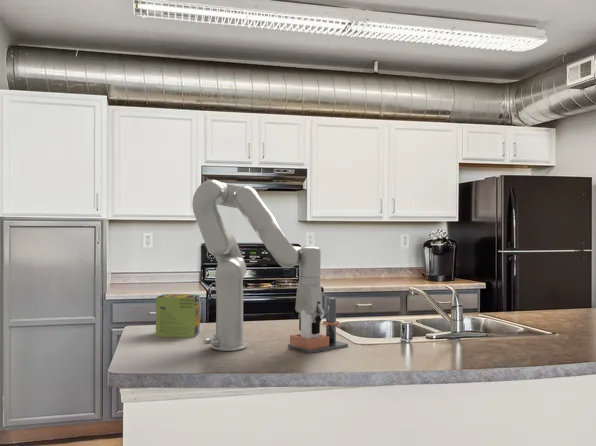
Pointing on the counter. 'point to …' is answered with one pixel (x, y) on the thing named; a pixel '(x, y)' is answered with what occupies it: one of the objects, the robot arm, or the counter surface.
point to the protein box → (177, 315)
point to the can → (307, 326)
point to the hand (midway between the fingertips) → (309, 331)
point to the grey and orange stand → (322, 341)
